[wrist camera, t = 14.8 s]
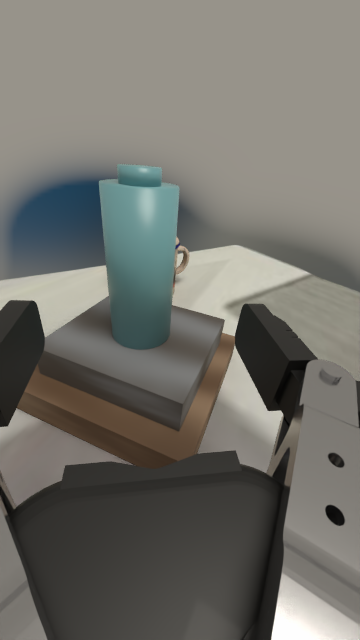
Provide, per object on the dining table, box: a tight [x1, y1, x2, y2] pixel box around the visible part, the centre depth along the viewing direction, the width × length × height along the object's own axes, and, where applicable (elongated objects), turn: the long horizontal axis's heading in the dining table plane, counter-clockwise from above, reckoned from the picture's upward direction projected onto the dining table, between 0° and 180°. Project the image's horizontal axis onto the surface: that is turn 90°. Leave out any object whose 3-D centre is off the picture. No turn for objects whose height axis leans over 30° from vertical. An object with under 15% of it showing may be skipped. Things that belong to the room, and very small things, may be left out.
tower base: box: [17, 296, 235, 469], centre depth 25 cm, size 16×16×6 cm
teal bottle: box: [99, 164, 179, 350], centre depth 20 cm, size 5×5×13 cm
